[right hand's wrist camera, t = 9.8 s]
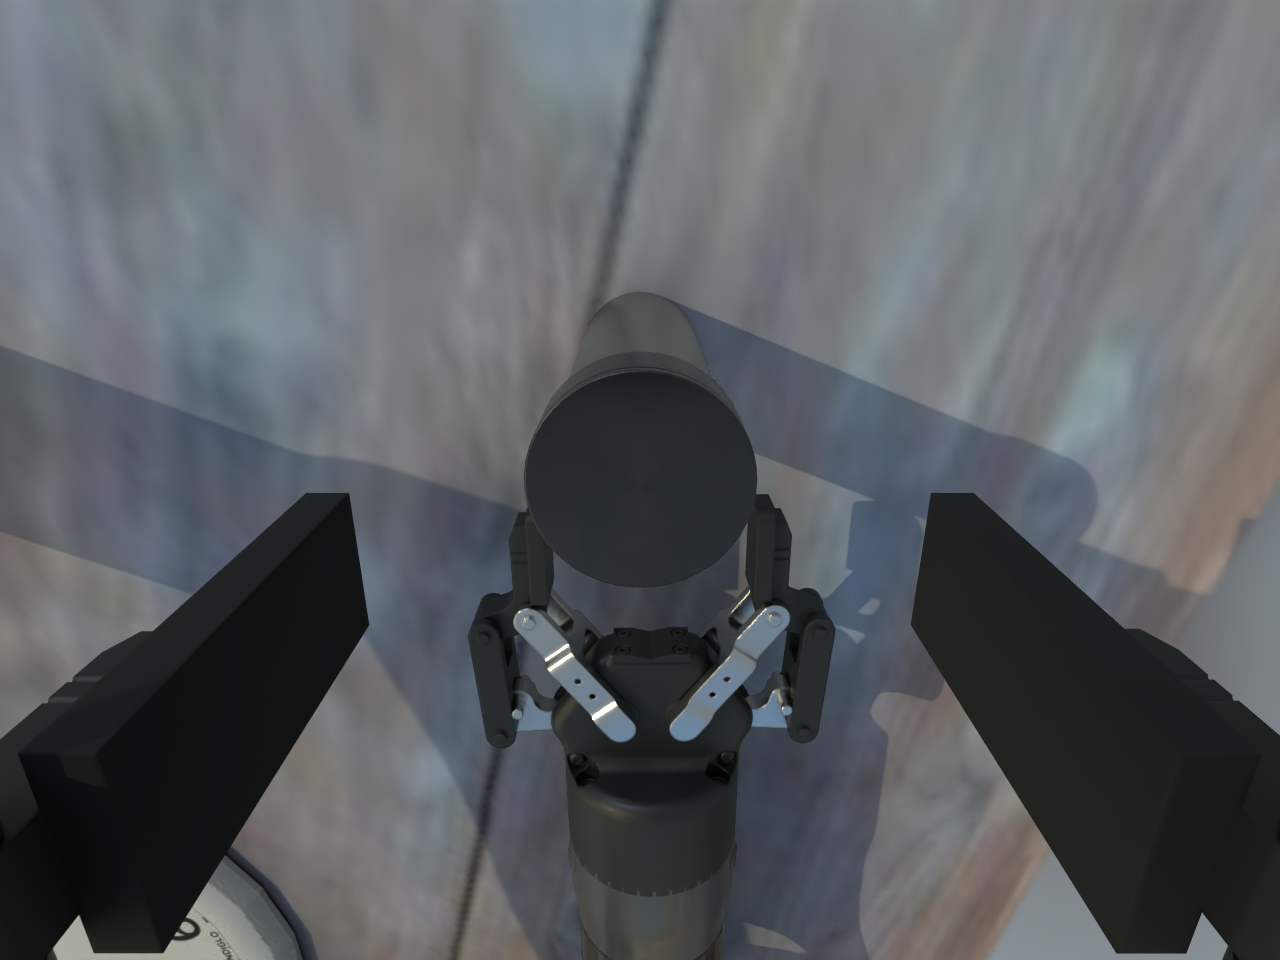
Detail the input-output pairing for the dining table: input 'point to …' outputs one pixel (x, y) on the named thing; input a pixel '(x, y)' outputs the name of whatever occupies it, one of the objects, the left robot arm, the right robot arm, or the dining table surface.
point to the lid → (640, 471)
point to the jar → (640, 331)
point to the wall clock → (211, 926)
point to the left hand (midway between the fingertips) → (650, 503)
